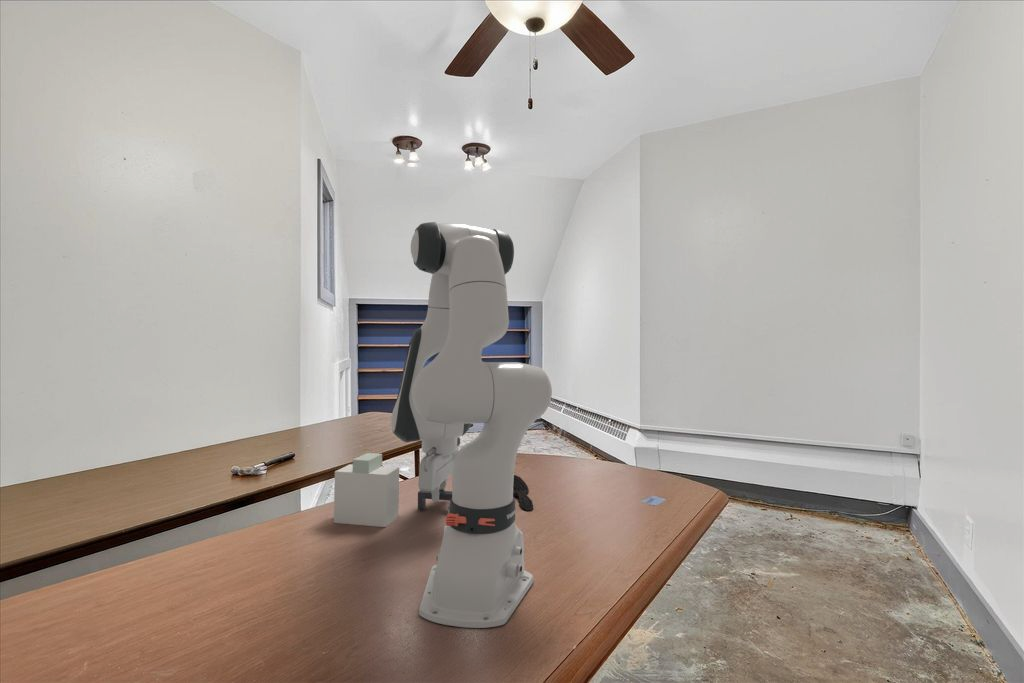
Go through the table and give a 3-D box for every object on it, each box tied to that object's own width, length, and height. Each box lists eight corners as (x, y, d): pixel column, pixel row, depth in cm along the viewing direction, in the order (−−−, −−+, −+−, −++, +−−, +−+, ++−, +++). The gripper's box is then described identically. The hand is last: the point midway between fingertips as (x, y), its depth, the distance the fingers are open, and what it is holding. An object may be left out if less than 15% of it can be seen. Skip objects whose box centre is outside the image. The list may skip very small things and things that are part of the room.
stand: (398, 516, 115) (399, 454, 115) (385, 527, 108) (387, 461, 108) (349, 512, 117) (350, 452, 117) (333, 522, 110) (334, 458, 110)
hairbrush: (513, 503, 119) (496, 471, 143) (513, 517, 119) (496, 483, 143) (545, 501, 121) (523, 470, 145) (544, 515, 121) (522, 482, 145)
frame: (459, 509, 120) (459, 491, 120) (456, 513, 118) (456, 495, 118) (421, 506, 122) (421, 489, 122) (417, 510, 120) (417, 492, 120)
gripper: (438, 453, 109) (437, 513, 109) (462, 437, 129) (461, 487, 129) (412, 452, 110) (411, 511, 110) (440, 436, 131) (439, 486, 130)
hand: (438, 498), depth 120 cm, fingers closed on frame, 2 cm apart
